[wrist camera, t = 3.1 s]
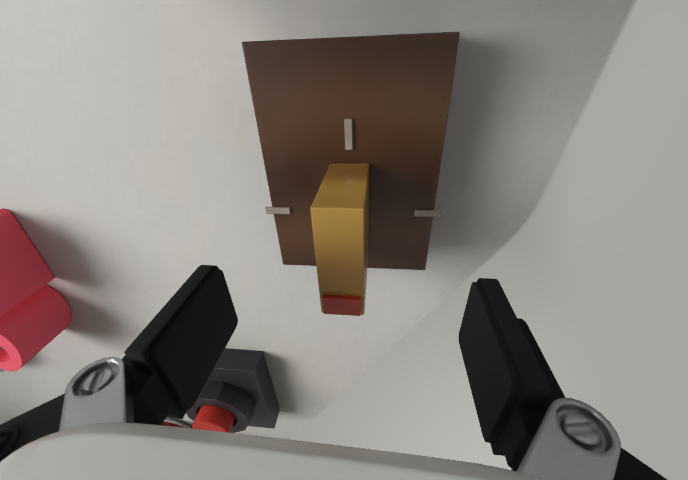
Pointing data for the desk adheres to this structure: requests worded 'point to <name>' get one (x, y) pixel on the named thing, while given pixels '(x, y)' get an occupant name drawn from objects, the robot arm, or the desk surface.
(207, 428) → the button
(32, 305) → the letters
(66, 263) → the desk surface
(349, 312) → the handle
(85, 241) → the desk surface
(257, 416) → the button box
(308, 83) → the plate
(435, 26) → the desk surface
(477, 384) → the robot arm
